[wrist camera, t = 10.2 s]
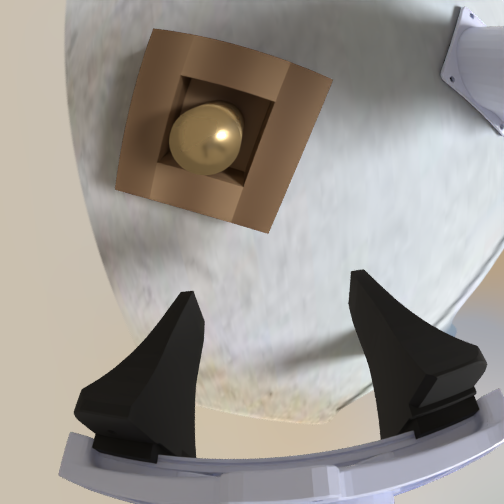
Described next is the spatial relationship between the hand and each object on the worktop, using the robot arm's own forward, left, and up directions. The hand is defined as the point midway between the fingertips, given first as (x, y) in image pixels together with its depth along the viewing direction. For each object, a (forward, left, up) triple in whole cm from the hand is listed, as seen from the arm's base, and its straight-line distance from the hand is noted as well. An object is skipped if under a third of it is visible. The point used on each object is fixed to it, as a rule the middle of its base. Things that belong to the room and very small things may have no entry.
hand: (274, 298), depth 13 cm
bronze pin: (+5, -5, -9) cm, 11 cm away
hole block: (+5, -5, -9) cm, 12 cm away
